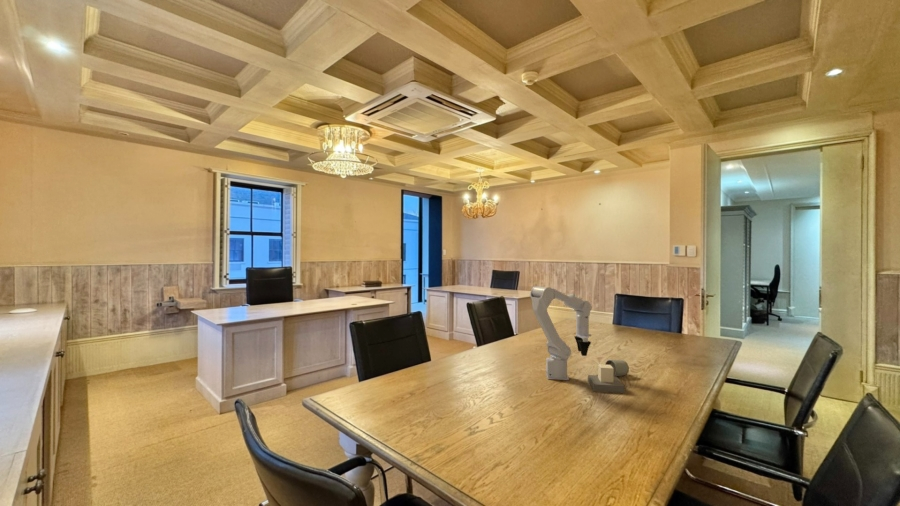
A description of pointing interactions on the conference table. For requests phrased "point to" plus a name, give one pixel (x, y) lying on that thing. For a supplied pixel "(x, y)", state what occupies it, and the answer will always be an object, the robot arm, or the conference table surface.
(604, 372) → the cream block
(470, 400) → the conference table surface
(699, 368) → the conference table surface
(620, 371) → the ceramic mug
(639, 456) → the conference table surface
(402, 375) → the conference table surface
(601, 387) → the gray plinth
